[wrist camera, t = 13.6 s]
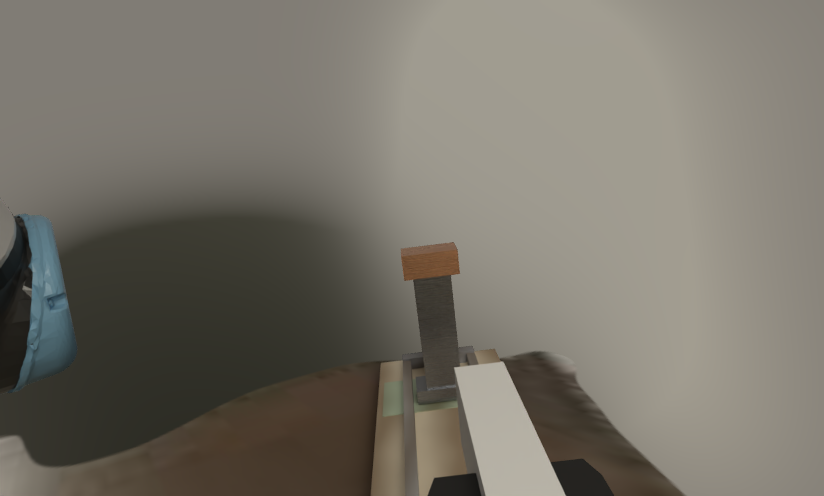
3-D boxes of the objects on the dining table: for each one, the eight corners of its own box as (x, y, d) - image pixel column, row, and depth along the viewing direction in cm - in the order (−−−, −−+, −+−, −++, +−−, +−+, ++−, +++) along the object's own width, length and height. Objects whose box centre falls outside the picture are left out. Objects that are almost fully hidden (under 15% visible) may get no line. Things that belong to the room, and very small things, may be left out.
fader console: (367, 638, 22) (358, 590, 21) (383, 379, 45) (379, 352, 44) (601, 608, 22) (600, 560, 21) (495, 365, 45) (493, 338, 44)
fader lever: (418, 404, 36) (398, 256, 33) (417, 388, 38) (398, 249, 35) (474, 397, 36) (459, 249, 33) (469, 381, 38) (455, 241, 35)
